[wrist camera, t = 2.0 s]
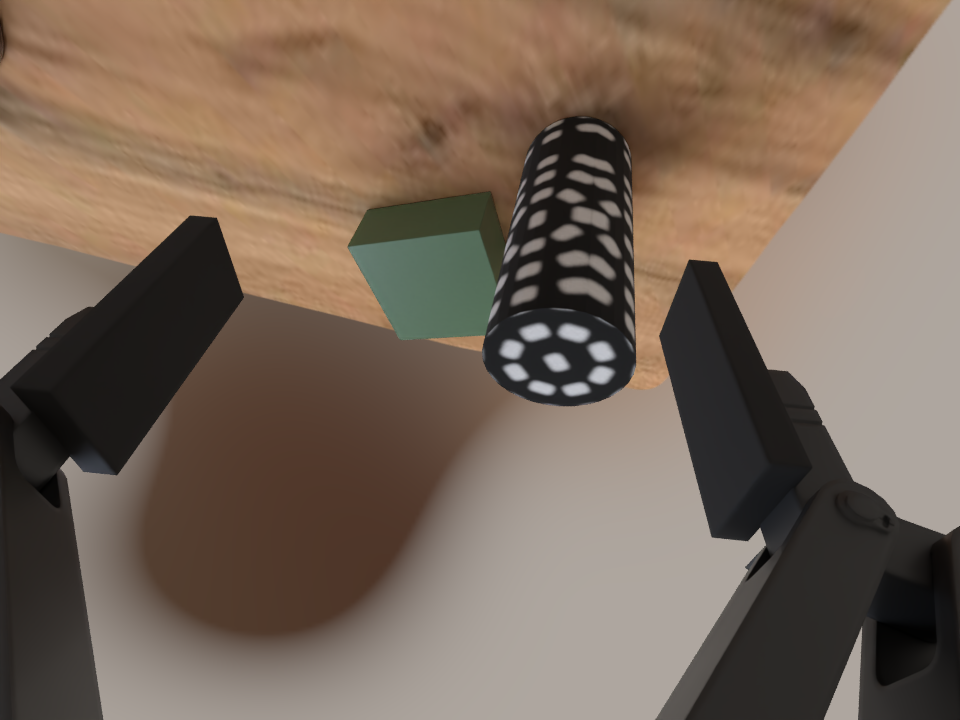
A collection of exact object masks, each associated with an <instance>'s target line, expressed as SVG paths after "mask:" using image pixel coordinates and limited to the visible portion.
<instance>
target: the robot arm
mask: <svg viewBox="0 0 960 720" xmlns="http://www.w3.org/2000/svg"><path fill="white" fill-rule="evenodd" d="M3 47H4V44H3V35H2V29H1V25H0V61H1V59H2V55H3ZM243 298H244V296H243V293H242V290H241V287H240V284H239V281H238V278H237V275H236V272H235V269H234V266H233V264H232V261H231V258H230V255H229V252H228V249H227V246H226V243H225V240H224V237H223V234H222V231H221V229H220V226H219V223H218V220H217V218H212V217H201V216H189V217H188V218H187V219H186V220H185V221H184V222H183V223H182V224H181V225H180V226H179V227H178V228H177V229H175V230H174V231H173V232H172V233H171V234H170V235H169V236H168V237H167V238H166V239H165V240H164V241H163V242H162V243H161V244H160V245H159V246H158V247H157V248H156V249H154V250H153V251H152V252H151V253H150V254H149V255H148V256H147V257H146V258H145V259H144V260H143V261H142V262H141V263H140V264H139V265H138V266H137V267H136V268H135V269H133V270H132V272H131V273H129V274H128V275H127V276H126V277H125V278H124V279H123V280H122V281H121V282H120V283H119V284H118V285H117V286H116V287H115V288H114V289H112V290H111V291H110V292H109V293H108V294H107V295H106V296H105V297H104V298H103V299H102V300H101V301H100V302H99V303H98V304H97V305H96V306H95V307H87V308H85V309H83V310H82V311H80V312H78V313H76V314H74V315H72V316H71V317H69V318H67V319H65V320H64V322H62V323H61V324H60V325H59V326H58V327H57V328H56V329H55V330H54V331H52V332H51V333H50V337H46V338H45V339H44V340H43V341H42V342H40V343H39V344H38V345H37V346H36V350H32V351H31V352H30V353H29V354H27V355H26V356H25V357H24V358H23V359H22V360H21V361H20V362H19V363H18V364H17V365H16V366H14V367H13V368H12V369H11V370H10V371H9V372H8V373H7V374H6V375H5V376H4V377H3V378H1V379H0V720H103V715H102V709H101V702H100V695H99V689H98V682H97V675H96V668H95V662H94V655H93V649H92V643H91V635H90V629H89V622H88V615H87V609H86V602H85V596H84V589H83V582H82V576H81V569H80V562H79V556H78V549H77V542H76V536H75V529H74V522H73V516H72V509H71V503H70V496H69V490H68V483H67V478H66V476H65V475H64V473H63V471H62V470H61V469H60V467H61V466H62V465H63V464H64V463H65V461H66V460H67V459H68V458H69V457H71V458H72V459H73V460H74V461H75V462H76V464H77V465H78V466H79V467H80V468H81V469H82V470H83V472H91V473H100V474H110V475H118V473H119V472H120V471H121V469H122V468H123V466H124V465H125V464H126V462H127V461H128V459H129V458H130V457H131V455H132V454H133V452H134V451H135V450H136V448H137V447H138V445H139V444H140V442H141V441H142V440H143V438H144V437H145V436H146V434H147V433H148V431H149V430H150V428H151V427H152V425H153V424H154V423H155V422H156V420H157V419H158V417H159V416H160V415H161V413H162V412H163V410H164V409H165V407H166V406H167V405H168V403H169V402H170V400H171V399H172V398H173V396H174V395H175V393H176V392H177V391H178V389H179V388H180V386H181V385H182V384H183V382H184V381H185V379H186V378H187V377H188V375H189V374H190V372H191V371H192V370H193V368H194V367H195V365H196V364H197V363H198V361H199V360H200V358H201V357H202V356H203V354H204V353H205V351H206V350H207V349H208V347H209V346H210V344H211V343H212V341H213V340H214V339H215V337H216V336H217V335H218V333H219V332H220V330H221V329H222V327H223V326H224V325H225V323H226V322H227V321H228V319H229V318H230V316H231V315H232V313H233V312H234V311H235V309H236V308H237V307H238V305H239V304H240V302H241V301H242V300H243ZM659 337H660V341H661V345H662V349H663V352H664V356H665V360H666V364H667V368H668V372H669V375H670V379H671V383H672V387H673V391H674V395H675V398H676V402H677V406H678V410H679V414H680V417H681V421H682V425H683V429H684V433H685V437H686V440H687V444H688V448H689V452H690V456H691V460H692V463H693V467H694V471H695V474H696V479H697V483H698V486H699V490H700V494H701V498H702V501H703V505H704V509H705V513H706V517H707V521H708V524H709V528H710V532H711V536H712V537H714V538H722V539H732V540H742V541H748V540H749V539H750V538H751V537H752V536H753V535H754V534H755V533H756V531H757V530H758V529H759V528H761V531H762V534H763V537H764V540H765V542H766V546H765V547H764V548H763V549H762V550H761V551H760V552H759V553H758V554H757V555H756V556H755V557H754V559H752V561H751V562H750V563H749V564H748V565H747V566H746V567H745V568H746V569H748V572H747V573H746V575H745V577H744V578H743V580H742V581H741V583H740V585H739V586H738V588H737V589H736V591H735V593H734V594H733V596H732V597H731V600H730V601H729V602H728V604H727V606H726V607H725V609H724V611H723V612H722V614H721V616H720V617H719V618H718V620H717V622H716V623H715V625H714V626H713V628H712V630H711V631H710V633H709V635H708V636H707V638H706V639H705V641H704V643H703V644H702V646H701V647H700V649H699V651H698V652H697V654H696V655H695V657H694V659H693V660H692V662H691V664H690V665H689V667H688V668H687V670H686V672H685V673H684V675H683V676H682V678H681V680H680V681H679V683H678V685H677V686H676V688H675V689H674V691H673V692H672V694H671V696H670V697H669V699H668V701H667V702H666V704H665V705H664V707H663V709H662V710H661V712H660V713H659V715H658V717H657V718H656V720H824V717H825V715H826V712H827V710H828V708H829V705H830V703H831V700H832V698H833V695H834V693H835V691H836V688H837V685H838V683H839V681H840V678H841V676H842V673H843V671H844V669H845V666H846V664H847V661H848V659H849V656H850V654H851V652H852V649H853V647H854V644H855V642H856V639H857V637H858V635H859V632H860V629H861V627H862V646H861V668H860V692H859V714H858V720H960V526H959V527H957V528H956V529H954V530H953V531H951V532H950V533H948V534H947V535H944V534H941V533H938V532H936V531H933V530H930V529H927V528H925V527H922V526H919V525H916V524H914V523H911V522H908V521H905V520H902V519H900V518H898V517H896V514H895V512H894V511H893V509H892V508H891V507H890V506H889V505H888V504H887V502H886V501H885V500H884V499H883V498H881V497H880V496H879V495H877V494H876V493H875V492H874V491H872V490H871V489H869V488H867V487H865V486H863V485H861V484H858V483H856V482H854V481H853V479H852V477H851V475H850V474H849V472H848V470H847V468H846V466H845V464H844V462H843V460H842V458H841V456H840V454H839V452H838V450H837V449H836V447H835V445H834V443H833V441H832V439H831V437H830V435H829V433H828V432H827V429H826V428H825V426H824V425H822V420H821V418H820V416H819V414H818V412H817V411H816V410H814V405H813V403H812V401H811V399H810V397H809V395H808V393H807V391H806V389H805V388H804V387H803V386H802V385H801V384H800V383H799V382H798V381H797V380H796V379H795V378H794V377H793V376H792V375H791V374H790V373H789V372H788V371H777V370H768V369H767V368H766V366H765V364H764V361H763V359H762V357H761V355H760V353H759V350H758V348H757V347H756V344H755V342H754V340H753V338H752V336H751V333H750V331H749V329H748V327H747V325H746V323H745V320H744V318H743V316H742V314H741V312H740V310H739V308H738V305H737V303H736V301H735V299H734V297H733V295H732V292H731V290H730V288H729V286H728V284H727V282H726V280H725V277H724V275H723V273H722V271H721V269H720V267H719V264H718V262H710V261H698V260H689V261H688V264H687V266H686V269H685V271H684V274H683V276H682V279H681V282H680V284H679V287H678V289H677V292H676V294H675V297H674V299H673V302H672V305H671V307H670V310H669V312H668V315H667V317H666V320H665V322H664V325H663V328H662V330H661V333H660V335H659Z"/></svg>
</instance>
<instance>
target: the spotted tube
mask: <svg viewBox="0 0 960 720" xmlns="http://www.w3.org/2000/svg"><path fill="white" fill-rule="evenodd" d="M482 355H483V362H484V364H485V367H486V369H487V371H488V372H489V374H490V375H491V376H492V378H493V379H494V380H496V382H497V383H498V384H499V385H501V386H502V387H504V388H505V389H506V390H508V391H509V392H511V393H513V394H515V395H517V396H519V397H521V398H524V399H527V400H530V401H533V402H536V403H541V404H546V405H554V406H579V405H587V404H591V403H595V402H599V401H601V400H604V399H606V398H609V397H611V396H612V395H614V394H616V393H617V392H619V391H620V390H622V388H624V387H625V386H626V385H627V384H628V383H629V381H630V379H631V378H632V376H633V375H634V371H635V367H636V335H635V292H634V249H633V206H632V164H631V154H630V150H629V147H628V145H627V143H626V141H625V139H624V137H623V136H622V135H621V134H620V133H619V132H618V131H617V130H616V129H615V128H614V127H612V126H611V125H609V124H608V123H606V122H603V121H601V120H599V119H595V118H590V117H571V118H566V119H563V120H560V121H557V122H555V123H553V124H551V125H550V126H548V127H547V128H545V129H544V130H543V131H542V132H541V133H540V134H539V135H538V136H537V137H536V138H535V140H534V141H533V142H532V144H531V146H530V148H529V150H528V152H527V155H526V160H525V164H524V169H523V173H522V177H521V182H520V186H519V190H518V195H517V199H516V204H515V208H514V212H513V217H512V221H511V225H510V230H509V234H508V239H507V243H506V247H505V252H504V256H503V260H502V265H501V269H500V273H499V278H498V282H497V287H496V291H495V295H494V300H493V304H492V308H491V313H490V317H489V322H488V326H487V330H486V335H485V339H484V344H483V349H482Z"/></svg>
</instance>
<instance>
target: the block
mask: <svg viewBox="0 0 960 720" xmlns="http://www.w3.org/2000/svg"><path fill="white" fill-rule="evenodd" d="M505 247H506V245H505V241H504V238H503V234H502V230H501V227H500V223H499V220H498V216H497V213H496V209H495V206H494V202H493V199H492V195H491V192H484V193H477V194H470V195H464V196H457V197H451V198H444V199H437V200H431V201H424V202H417V203H411V204H404V205H397V206H391V207H384V208H378V209H371V210H367V212H366V213H365V215H364V217H363V219H362V221H361V223H360V224H359V226H358V228H357V230H356V232H355V234H354V236H353V237H352V239H351V241H350V243H349V245H348V249H349V251H350V252H351V254H352V256H353V258H354V259H355V261H356V263H357V265H358V266H359V268H360V270H361V272H362V274H363V275H364V277H365V279H366V281H367V282H368V284H369V286H370V288H371V289H372V291H373V293H374V295H375V297H376V298H377V300H378V302H379V304H380V305H381V307H382V309H383V311H384V313H385V314H386V316H387V318H388V320H389V321H390V323H391V325H392V327H393V328H394V330H395V332H396V334H397V336H398V337H399V339H400V340H410V339H429V338H447V337H465V336H482V335H486V330H487V326H488V322H489V317H490V313H491V308H492V304H493V300H494V295H495V291H496V287H497V282H498V278H499V273H500V269H501V265H502V260H503V256H504V252H505Z"/></svg>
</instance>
